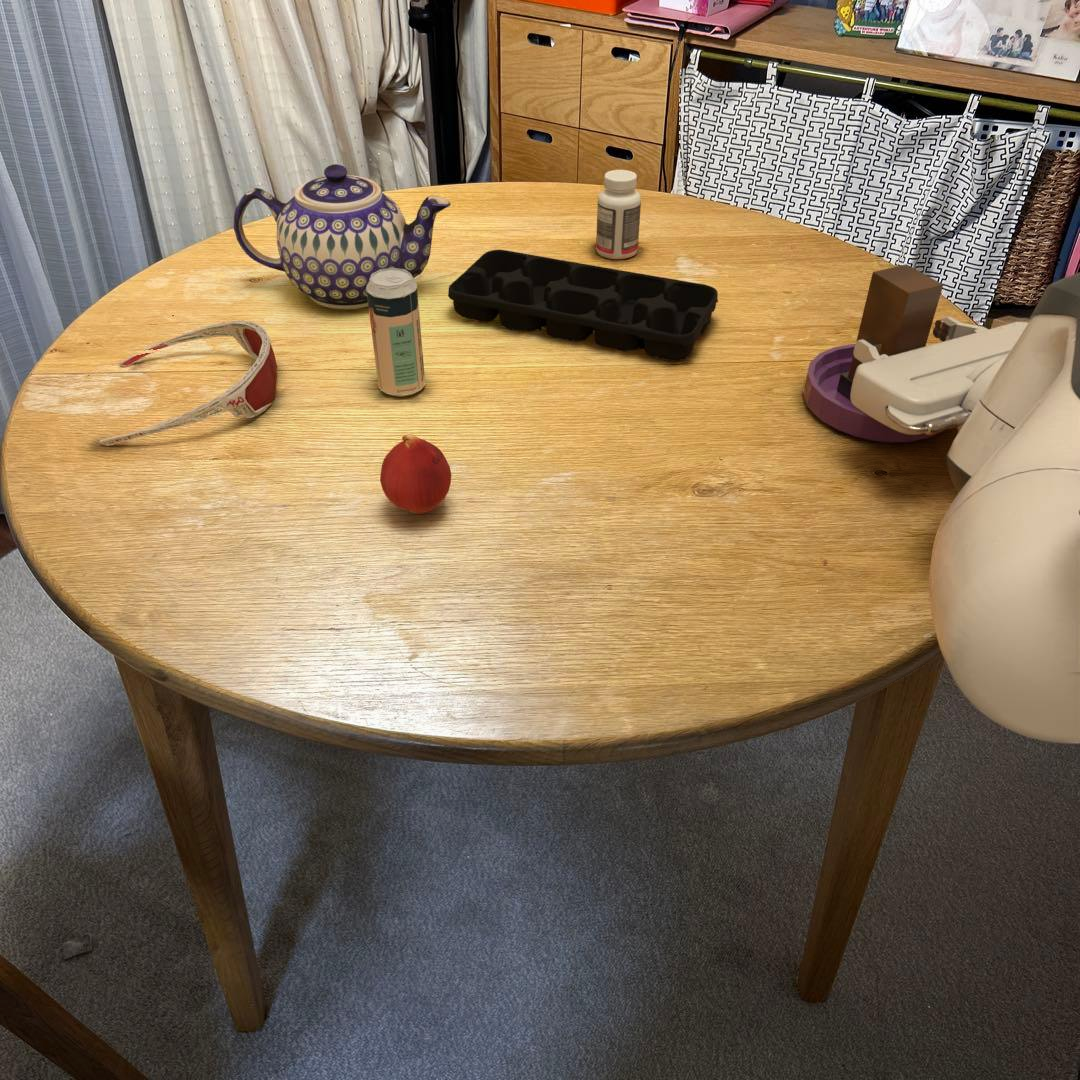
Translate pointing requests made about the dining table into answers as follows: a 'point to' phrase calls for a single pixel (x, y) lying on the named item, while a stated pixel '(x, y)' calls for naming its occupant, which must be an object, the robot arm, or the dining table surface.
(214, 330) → the sunglasses
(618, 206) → the pill bottle
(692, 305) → the black muffin tray
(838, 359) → the purple round dish
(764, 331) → the dining table surface
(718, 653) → the dining table surface
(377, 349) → the beer can
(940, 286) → the brown rectangular block
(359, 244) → the teapot
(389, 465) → the onion
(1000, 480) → the robot arm
